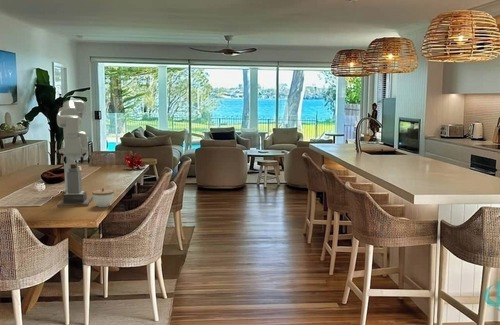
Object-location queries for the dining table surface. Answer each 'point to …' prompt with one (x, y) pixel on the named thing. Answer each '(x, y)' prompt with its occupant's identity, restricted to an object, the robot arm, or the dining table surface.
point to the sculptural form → (133, 161)
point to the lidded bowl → (103, 197)
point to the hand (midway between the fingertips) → (73, 163)
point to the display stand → (74, 200)
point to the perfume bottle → (74, 179)
